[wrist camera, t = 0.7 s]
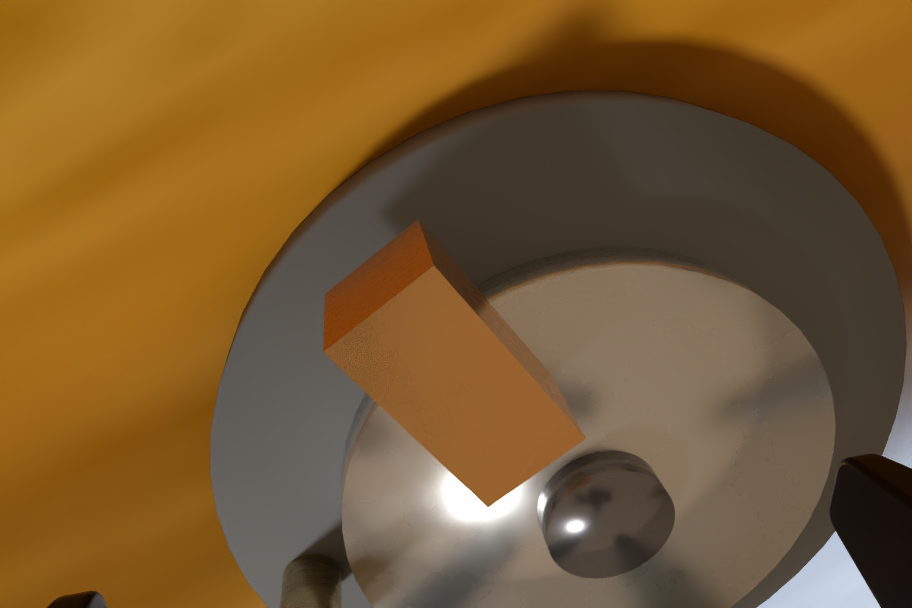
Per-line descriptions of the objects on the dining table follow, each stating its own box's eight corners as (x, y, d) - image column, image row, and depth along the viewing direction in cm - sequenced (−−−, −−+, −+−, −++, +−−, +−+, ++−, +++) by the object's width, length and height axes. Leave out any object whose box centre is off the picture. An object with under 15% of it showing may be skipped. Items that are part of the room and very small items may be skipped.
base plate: (871, 540, 31) (905, 574, 29) (368, 721, 30) (370, 767, 29) (856, -26, 20) (908, -26, 18) (73, 251, 20) (47, 278, 18)
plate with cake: (869, 470, 25) (973, 566, 21) (524, 694, 28) (557, 818, 24) (612, 38, 17) (700, 56, 13) (153, 408, 19) (105, 522, 15)
